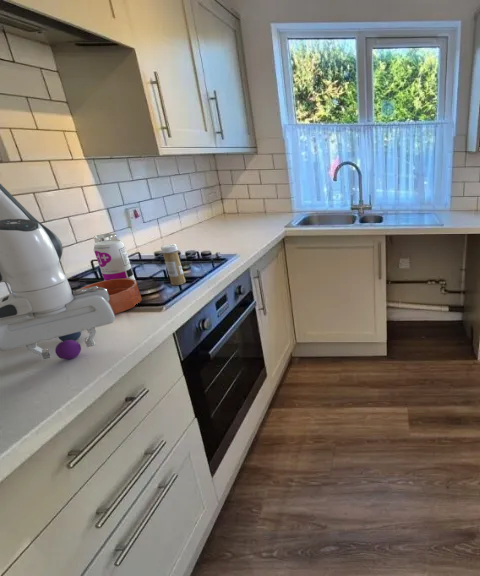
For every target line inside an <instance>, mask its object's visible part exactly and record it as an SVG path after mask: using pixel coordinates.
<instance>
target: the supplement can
mask: <svg viewBox="0 0 480 576" xmlns="http://www.w3.org/2000/svg"><path fill="white" fill-rule="evenodd" d="M93 245H94V247H93V252H94V255H95V257H96V260H97V264H98V266H99V269H100V272H101V275H102V278H103V281H106V280H112V279H124V278H128V279H134V280H135V281H136V278H135V275H134V271H133V268H132V265H131V262H130V261H131V260H130V257H129V255H128V252H127V250H126V249H127V248H126V246H125V244H124V243H123V242H122V240H120V239H119V240H106V241H101V242H97V243H95V242H94V244H93Z"/></svg>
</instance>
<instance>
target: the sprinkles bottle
mask: <svg viewBox="0 0 480 576" xmlns="http://www.w3.org/2000/svg"><path fill="white" fill-rule="evenodd" d="M160 250H161V253H162V255H163V258H164V263H165V267H166V270H167V273H168V276H169V279H170V284H171V286H180V285H183V284H186V282H187V280H186V277H185V274H184V270H183V266H182V263H181V258H180V255H179V252H178V250H179V249H178V246H177V244H176V243H168V244H164V245H161V246H160Z"/></svg>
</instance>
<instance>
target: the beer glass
mask: <svg viewBox="0 0 480 576" xmlns="http://www.w3.org/2000/svg"><path fill="white" fill-rule="evenodd" d="M93 239H94V244H95V243H97V242H101V241H106V240H120V239H119V237H118V234H117V233H115V232H109V233H108V232H107V233H101V234H97V235H94V236H93Z"/></svg>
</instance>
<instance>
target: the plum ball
mask: <svg viewBox="0 0 480 576" xmlns="http://www.w3.org/2000/svg"><path fill="white" fill-rule="evenodd" d="M54 350H55V355H56V356H57V357H58V358H59V359H61V360H72V359H75V358H76V357H78V356H79V355H80V354H81V352H82V346H81V344H80V343H79V342H78V341H77V340H76V341H74V340H65V341H61V342H59V343H58V344H56V347H55V349H54Z"/></svg>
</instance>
